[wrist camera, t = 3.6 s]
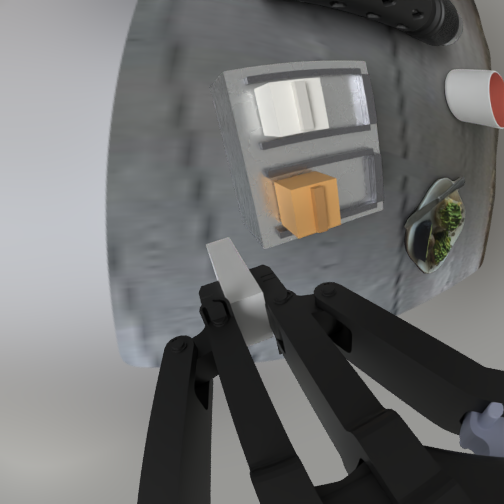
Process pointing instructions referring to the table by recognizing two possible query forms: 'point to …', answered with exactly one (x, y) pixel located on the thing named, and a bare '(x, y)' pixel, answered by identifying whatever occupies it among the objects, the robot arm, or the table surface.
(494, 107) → the cup
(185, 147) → the table surface
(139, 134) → the table surface
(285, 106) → the toggle white
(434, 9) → the muzzle brake
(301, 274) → the table surface
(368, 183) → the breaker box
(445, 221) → the salad plate
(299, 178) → the toggle orange
